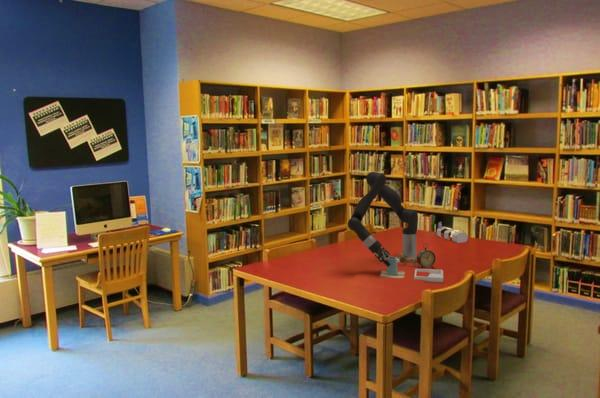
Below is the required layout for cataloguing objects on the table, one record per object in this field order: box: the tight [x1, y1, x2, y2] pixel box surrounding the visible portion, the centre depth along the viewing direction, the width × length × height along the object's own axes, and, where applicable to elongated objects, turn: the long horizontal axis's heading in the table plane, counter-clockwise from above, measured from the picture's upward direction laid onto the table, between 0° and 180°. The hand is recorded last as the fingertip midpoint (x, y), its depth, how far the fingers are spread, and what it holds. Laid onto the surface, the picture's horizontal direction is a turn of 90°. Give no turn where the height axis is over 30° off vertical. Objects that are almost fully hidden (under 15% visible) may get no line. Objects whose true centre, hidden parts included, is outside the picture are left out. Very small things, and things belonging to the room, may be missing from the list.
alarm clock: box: [416, 242, 436, 269], centre depth 309 cm, size 11×5×16 cm, turn 105°
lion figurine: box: [397, 253, 420, 268], centre depth 312 cm, size 15×5×9 cm, turn 67°
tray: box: [413, 268, 444, 284], centre depth 291 cm, size 16×16×3 cm
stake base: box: [379, 269, 406, 279], centre depth 296 cm, size 14×14×10 cm
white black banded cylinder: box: [436, 221, 469, 244], centre depth 385 cm, size 25×10×13 cm, turn 19°
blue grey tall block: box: [386, 256, 401, 276], centre depth 295 cm, size 5×6×10 cm
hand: (391, 263), depth 295 cm, fingers open, 8 cm apart
